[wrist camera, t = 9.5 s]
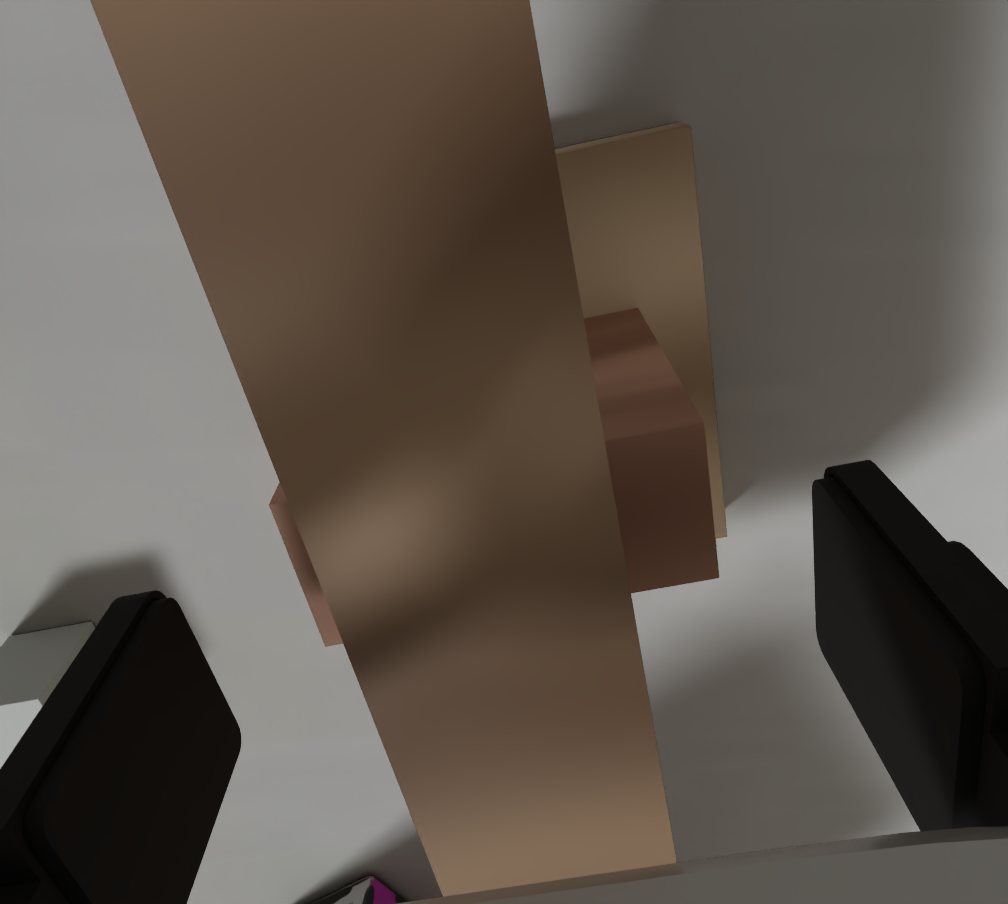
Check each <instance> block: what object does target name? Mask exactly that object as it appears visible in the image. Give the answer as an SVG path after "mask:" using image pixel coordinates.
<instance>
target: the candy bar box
mask: <svg viewBox="0 0 1008 904" xmlns="http://www.w3.org/2000/svg"><path fill="white" fill-rule="evenodd" d="M404 902H405V901H403V900H402V899H401V898H400V897H398V896H397V895H396V894H394V893H393V892H392V891H391V890H389V889H388V888H387V887H386V886H384V885H383V884H382V883H381V882H379V881H378V880H377V879H376V878H374V877H372V876H368V877H365V878H363V879H361V880H358V881H356V882H354V883H352V884H350V885H348V886H346V887H344V888H342V889H340V890H338V891H337V892H334V893H332V894H330V895H328V896H326V897H324V898H322V899H319V900H316V901H314V902H312V903H311V904H398V903H404Z"/></svg>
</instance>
